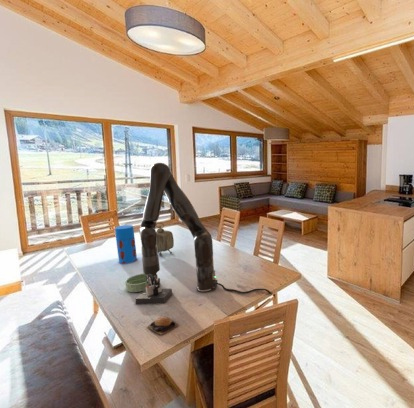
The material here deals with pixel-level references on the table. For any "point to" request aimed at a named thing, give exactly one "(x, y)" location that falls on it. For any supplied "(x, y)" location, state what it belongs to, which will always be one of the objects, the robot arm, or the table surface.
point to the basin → (136, 283)
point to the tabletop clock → (164, 240)
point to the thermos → (125, 244)
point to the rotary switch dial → (154, 297)
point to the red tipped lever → (151, 290)
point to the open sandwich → (162, 325)
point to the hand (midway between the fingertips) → (154, 293)
